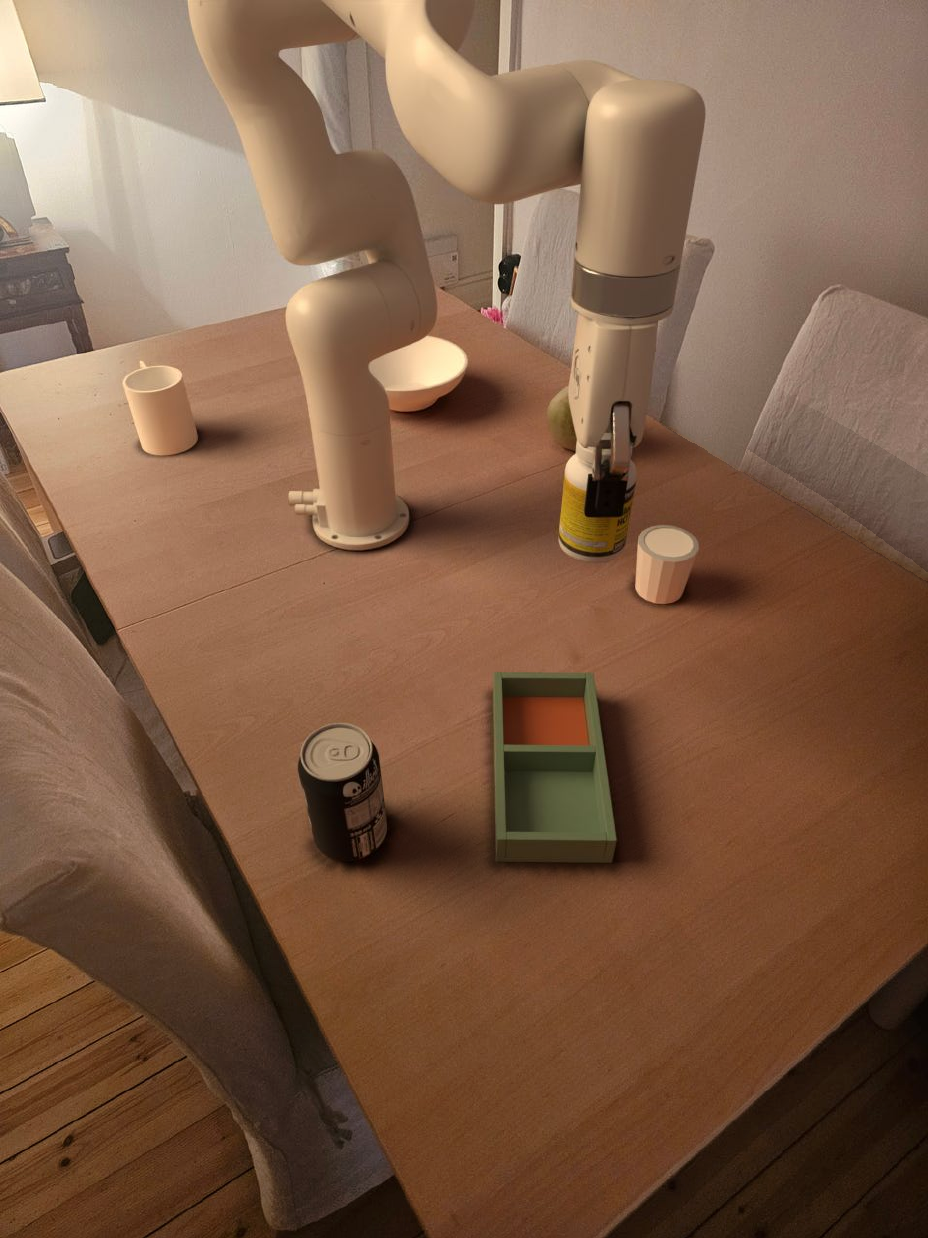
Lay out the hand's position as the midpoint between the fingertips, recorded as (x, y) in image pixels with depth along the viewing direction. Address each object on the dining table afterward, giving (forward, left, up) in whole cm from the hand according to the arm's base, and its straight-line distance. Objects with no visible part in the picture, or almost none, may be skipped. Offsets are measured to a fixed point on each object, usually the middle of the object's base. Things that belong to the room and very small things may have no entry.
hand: (597, 490), depth 72 cm
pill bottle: (0, 0, -6) cm, 6 cm away
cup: (-58, +49, -24) cm, 79 cm away
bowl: (-22, +60, -24) cm, 68 cm away
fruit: (+4, +47, -24) cm, 53 cm away
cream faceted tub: (+11, +14, -24) cm, 30 cm away
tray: (-4, -13, -24) cm, 27 cm away
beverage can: (-22, -20, -24) cm, 38 cm away
